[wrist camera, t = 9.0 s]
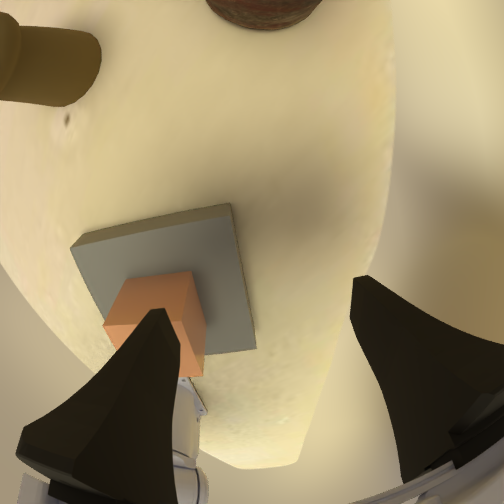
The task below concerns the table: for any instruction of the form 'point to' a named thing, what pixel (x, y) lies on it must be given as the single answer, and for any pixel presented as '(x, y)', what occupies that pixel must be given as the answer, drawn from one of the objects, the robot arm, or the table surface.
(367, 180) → the table surface
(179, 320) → the terracotta cube
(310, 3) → the candle
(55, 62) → the cork
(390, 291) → the robot arm
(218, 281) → the grey square plate
